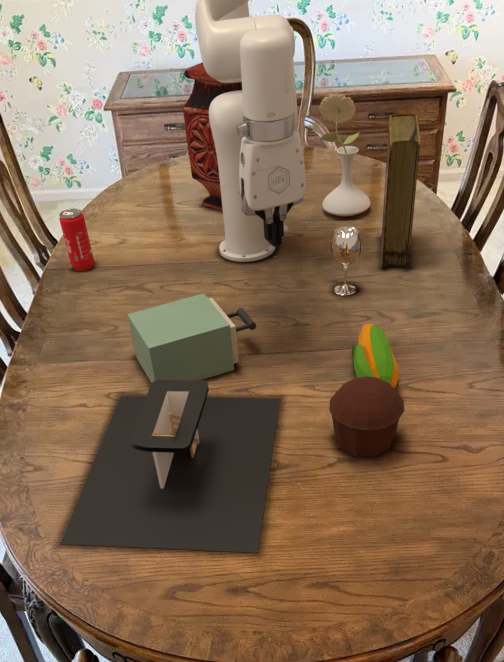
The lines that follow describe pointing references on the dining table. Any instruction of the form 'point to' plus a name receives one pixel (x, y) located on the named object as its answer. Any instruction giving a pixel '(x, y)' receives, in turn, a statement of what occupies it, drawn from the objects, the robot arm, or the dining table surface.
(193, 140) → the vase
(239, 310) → the drawer
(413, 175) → the book
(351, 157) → the flower in vase
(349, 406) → the muffin
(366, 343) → the corn
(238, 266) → the dining table surface
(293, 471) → the dining table surface
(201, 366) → the cabinet
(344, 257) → the wineglass
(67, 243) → the beverage can
